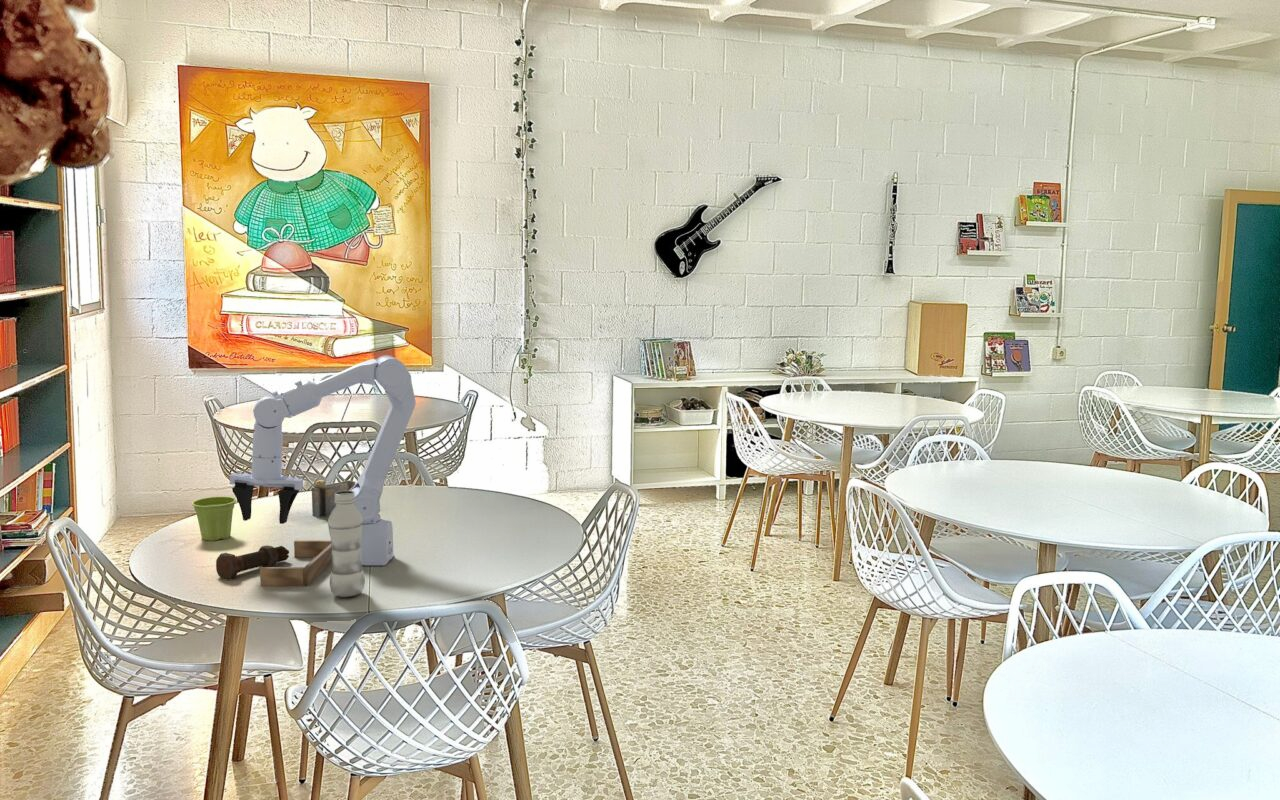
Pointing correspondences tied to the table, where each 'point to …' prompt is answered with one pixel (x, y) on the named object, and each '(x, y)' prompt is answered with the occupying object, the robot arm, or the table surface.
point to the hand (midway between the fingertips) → (265, 521)
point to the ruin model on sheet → (327, 496)
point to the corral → (300, 574)
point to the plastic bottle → (346, 546)
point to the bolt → (249, 561)
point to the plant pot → (214, 516)
